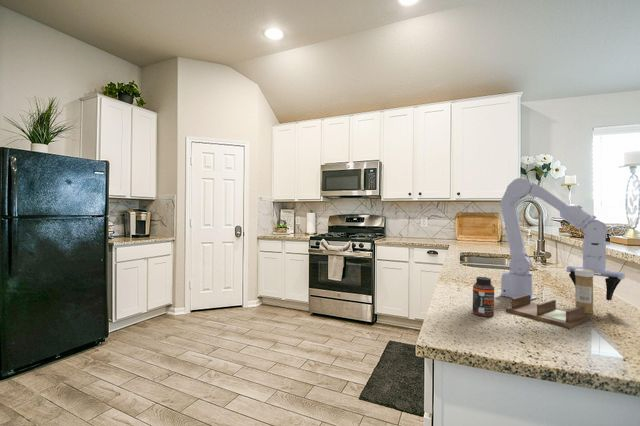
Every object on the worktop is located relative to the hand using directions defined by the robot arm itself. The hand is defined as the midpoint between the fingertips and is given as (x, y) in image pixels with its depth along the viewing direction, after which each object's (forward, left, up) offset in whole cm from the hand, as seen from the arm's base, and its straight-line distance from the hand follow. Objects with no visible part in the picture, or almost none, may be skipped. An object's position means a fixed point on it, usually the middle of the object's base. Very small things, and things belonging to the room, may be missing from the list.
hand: (593, 297), depth 103 cm
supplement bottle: (-15, -38, -4) cm, 41 cm away
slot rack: (-4, -22, -4) cm, 22 cm away
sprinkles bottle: (0, -8, -4) cm, 9 cm away
